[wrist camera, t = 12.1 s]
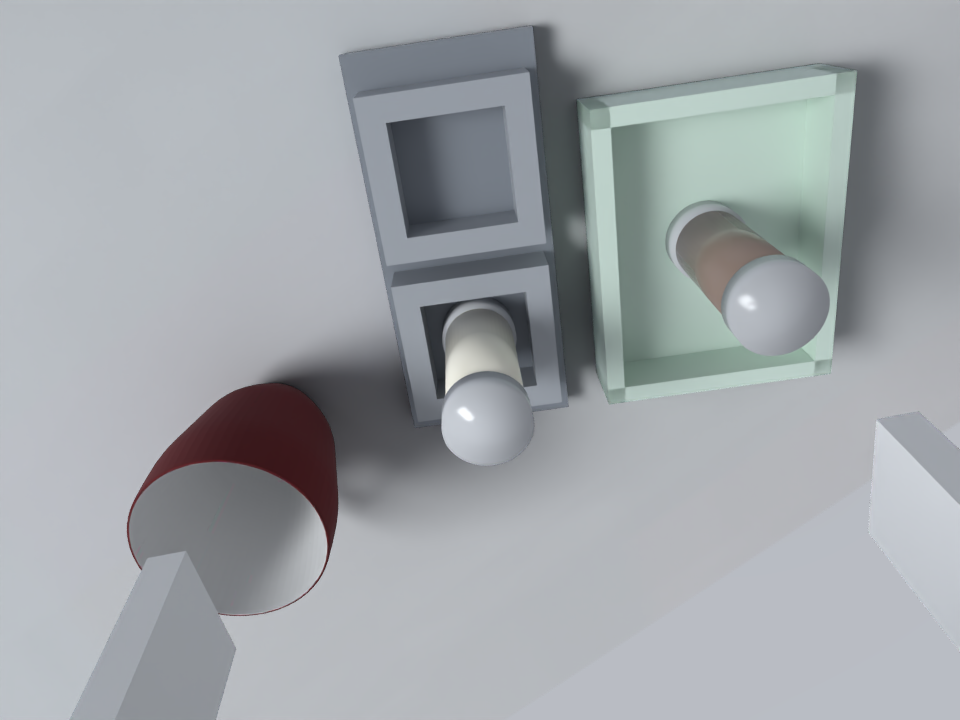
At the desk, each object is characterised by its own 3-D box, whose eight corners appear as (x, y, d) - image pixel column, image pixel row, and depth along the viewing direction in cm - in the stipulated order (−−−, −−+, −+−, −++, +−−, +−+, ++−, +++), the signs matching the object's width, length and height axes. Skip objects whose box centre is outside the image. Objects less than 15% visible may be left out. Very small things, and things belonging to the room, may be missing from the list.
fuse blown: (664, 206, 34) (732, 273, 26) (741, 195, 34) (833, 258, 26) (666, 278, 35) (731, 362, 27) (739, 267, 35) (826, 349, 27)
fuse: (437, 301, 35) (434, 393, 27) (509, 291, 35) (529, 379, 27) (448, 366, 37) (449, 471, 29) (518, 356, 37) (538, 459, 29)
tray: (576, 99, 32) (589, 110, 29) (819, 63, 32) (857, 70, 29) (596, 372, 38) (609, 404, 35) (800, 344, 38) (830, 373, 35)
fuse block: (341, 53, 31) (331, 59, 28) (529, 25, 31) (538, 28, 28) (415, 418, 39) (413, 449, 36) (565, 397, 39) (574, 427, 36)
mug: (380, 504, 42) (362, 644, 33) (239, 524, 42) (184, 669, 33) (336, 335, 37) (302, 444, 28) (178, 359, 37) (93, 476, 28)
